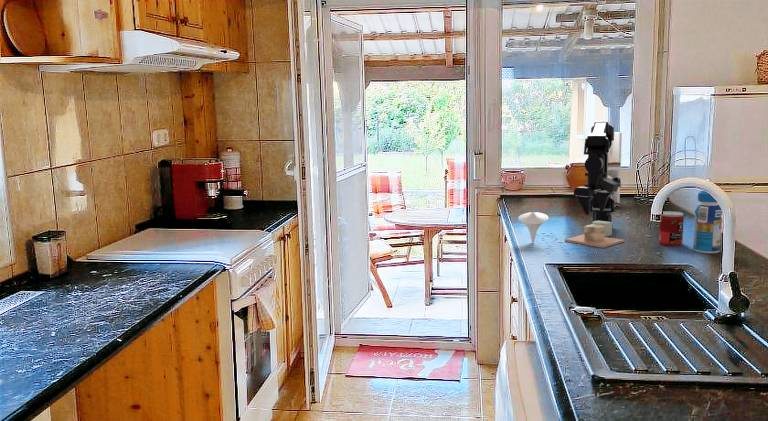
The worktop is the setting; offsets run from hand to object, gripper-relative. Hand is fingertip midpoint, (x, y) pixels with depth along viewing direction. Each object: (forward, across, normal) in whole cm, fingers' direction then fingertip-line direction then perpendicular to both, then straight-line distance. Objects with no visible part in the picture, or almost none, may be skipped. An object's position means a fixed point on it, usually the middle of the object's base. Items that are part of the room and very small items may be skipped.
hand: (594, 213), depth 240 cm
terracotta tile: (+11, 0, 0) cm, 11 cm away
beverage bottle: (+11, +12, -35) cm, 38 cm away
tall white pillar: (+10, +73, +42) cm, 85 cm away
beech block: (+10, 0, 0) cm, 10 cm away
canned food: (+11, +15, -21) cm, 28 cm away
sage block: (+11, +13, +5) cm, 18 cm away
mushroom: (+11, -16, +15) cm, 24 cm away
